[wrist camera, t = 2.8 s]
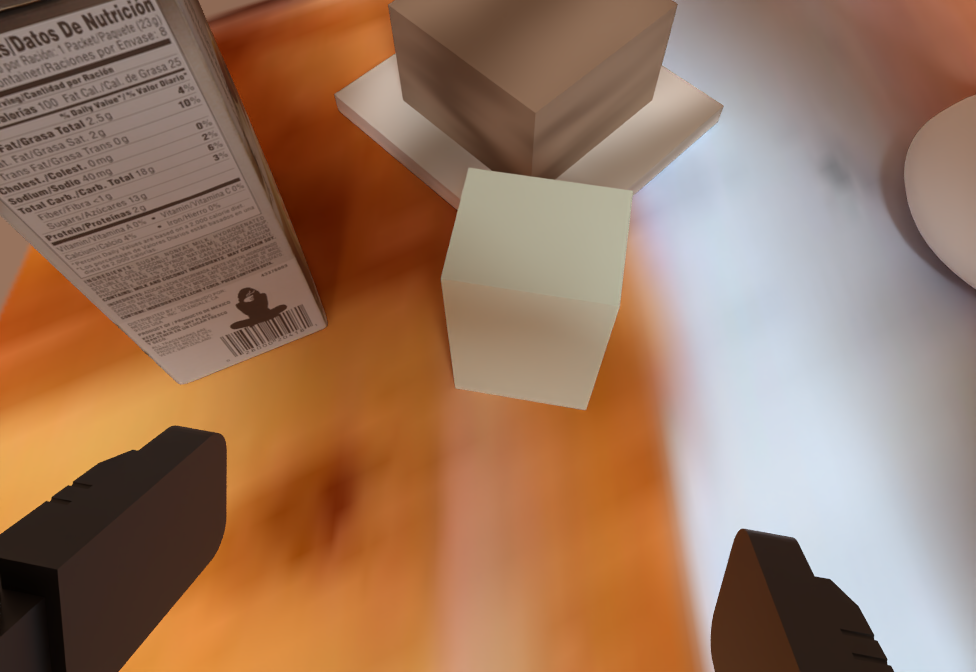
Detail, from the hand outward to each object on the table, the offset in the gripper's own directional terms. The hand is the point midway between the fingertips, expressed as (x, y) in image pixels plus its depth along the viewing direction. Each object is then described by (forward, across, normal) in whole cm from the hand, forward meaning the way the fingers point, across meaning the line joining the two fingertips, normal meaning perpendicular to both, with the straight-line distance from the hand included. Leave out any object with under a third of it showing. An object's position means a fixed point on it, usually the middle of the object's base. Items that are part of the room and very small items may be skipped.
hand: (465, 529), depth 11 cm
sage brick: (+17, 0, +3) cm, 17 cm away
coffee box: (+18, +13, +2) cm, 22 cm away
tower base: (+25, +2, -6) cm, 26 cm away
